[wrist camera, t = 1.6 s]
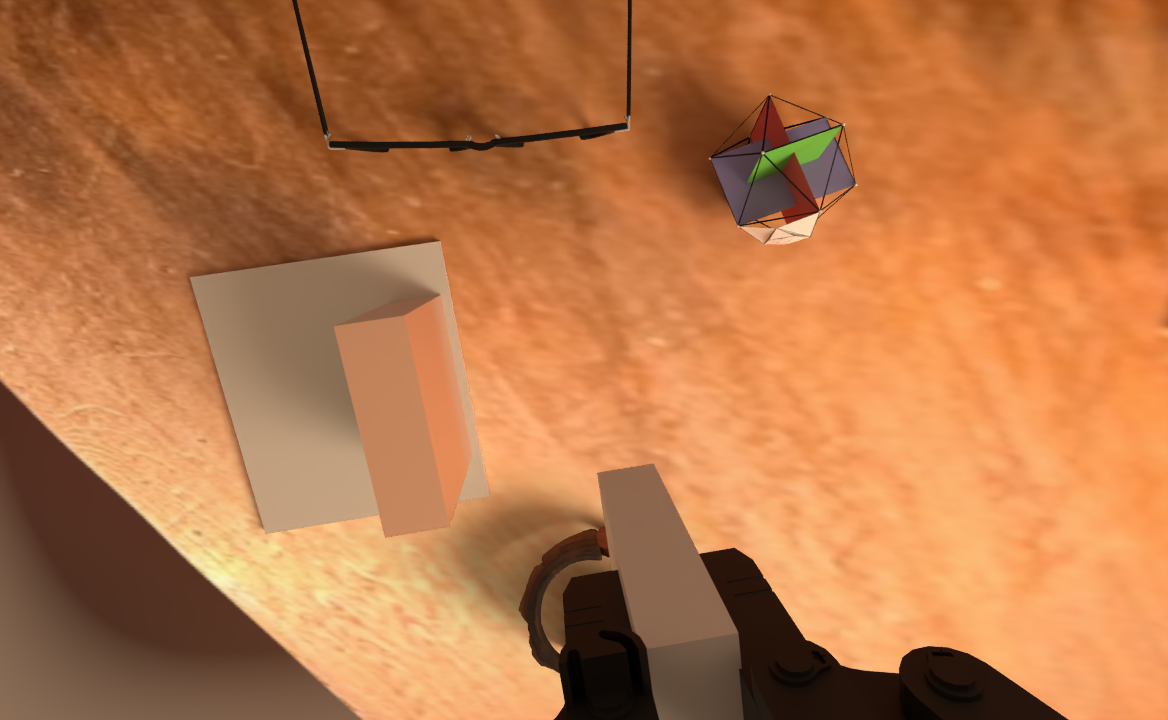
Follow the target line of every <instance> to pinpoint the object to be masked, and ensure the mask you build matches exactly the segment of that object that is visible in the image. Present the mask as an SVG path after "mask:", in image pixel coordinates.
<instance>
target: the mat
mask: <svg viewBox="0 0 1168 720" xmlns="http://www.w3.org/2000/svg"><path fill="white" fill-rule="evenodd" d="M190 280H191V284H192V287H193V290H194V294H195V297H196V301H197V304H198V307H199V311H200V314H201V318H202V321H203V324H204V328H205V331H206V334H207V338H208V341H209V345H210V348H211V351H212V355H213V358H214V361H215V365H216V368H217V372H218V375H219V378H220V382H221V385H222V388H223V392H224V395H225V399H226V402H227V405H228V409H229V412H230V416H231V419H232V422H233V426H234V429H235V432H236V436H237V439H238V443H239V446H240V449H241V453H242V456H243V459H244V463H245V466H246V470H247V473H248V476H249V480H250V483H251V486H252V490H253V493H254V497H255V500H256V503H257V507H258V510H259V514H260V517H261V520H262V524H263V527H264V530H265V534H268V533H274V532H280V531H286V530H292V529H298V528H304V527H310V526H316V525H322V524H328V523H334V522H340V521H346V520H353V519H359V518H365V517H371V516H377V515H380V514H379V510H378V506H377V502H376V498H375V494H374V490H373V486H372V482H371V477H370V473H369V469H368V465H367V461H366V457H365V453H364V449H363V445H362V441H361V436H360V432H359V428H358V424H357V420H356V416H355V412H354V408H353V404H352V400H351V396H350V391H349V387H348V383H347V379H346V375H345V371H344V367H343V363H342V359H341V355H340V350H339V346H338V342H337V338H336V334H335V330H334V326H335V325H337V324H340V323H342V322H344V321H347V320H349V319H351V318H354V317H356V316H358V315H361V314H363V313H365V312H368V311H370V310H372V309H375V308H377V307H380V306H382V305H384V304H387V303H389V302H395V301H402V300H408V299H415V298H422V297H428V296H435V295H441V298H442V303H443V308H444V313H445V318H446V323H447V328H448V333H449V338H450V343H451V348H452V353H453V358H454V363H455V368H456V373H457V378H458V383H459V388H460V393H461V398H462V403H463V408H464V413H465V418H466V423H467V428H468V434H469V439H470V444H471V449H472V454H473V455H472V458H471V461H470V464H469V467H468V471H467V474H466V477H465V480H464V483H463V486H462V490H461V493H460V496H459V499H458V502H462V501H468V500H474V499H480V498H486V497H489V496H490V493H489V488H488V482H487V477H486V472H485V467H484V462H483V457H482V452H481V447H480V441H479V436H478V431H477V426H476V421H475V416H474V411H473V405H472V400H471V395H470V390H469V385H468V380H467V375H466V369H465V364H464V359H463V354H462V349H461V344H460V339H459V333H458V328H457V323H456V318H455V313H454V308H453V303H452V297H451V292H450V287H449V282H448V277H447V272H446V267H445V262H444V256H443V251H442V246H441V241H437V242H430V243H423V244H417V245H410V246H403V247H396V248H389V249H382V250H375V251H368V252H361V253H354V254H348V255H341V256H334V257H327V258H320V259H313V260H306V261H299V262H292V263H285V264H279V265H272V266H265V267H258V268H251V269H244V270H237V271H230V272H223V273H216V274H210V275H203V276H196V277H190Z"/></svg>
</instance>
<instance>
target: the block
mask: <svg viewBox="0 0 1168 720" xmlns="http://www.w3.org/2000/svg"><path fill="white" fill-rule="evenodd" d="M334 330H335V334H336V338H337V342H338V346H339V350H340V355H341V359H342V363H343V367H344V371H345V375H346V379H347V383H348V387H349V391H350V396H351V400H352V404H353V408H354V412H355V416H356V420H357V424H358V428H359V432H360V436H361V441H362V445H363V449H364V453H365V457H366V461H367V465H368V469H369V473H370V477H371V482H372V486H373V490H374V494H375V498H376V502H377V506H378V510H379V514H380V518H381V523H382V527H383V531H384V535H385V538H386V537H392V536H398V535H404V534H410V533H416V532H422V531H428V530H434V529H440V528H446V527H450V525H451V521H452V518H453V515H454V512H455V509H456V506H457V502H458V499H459V496H460V493H461V490H462V486H463V483H464V480H465V477H466V474H467V471H468V467H469V464H470V461H471V458H472V455H473V454H472V449H471V444H470V439H469V434H468V428H467V423H466V418H465V413H464V408H463V403H462V398H461V393H460V388H459V383H458V378H457V373H456V368H455V363H454V358H453V353H452V348H451V343H450V338H449V333H448V328H447V323H446V318H445V313H444V308H443V303H442V298H441V295H435V296H428V297H422V298H415V299H408V300H402V301H395V302H389V303H387V304H384V305H382V306H380V307H377V308H375V309H372V310H370V311H368V312H365V313H363V314H361V315H358V316H356V317H354V318H351V319H349V320H347V321H344V322H342V323H340V324H337V325H335V326H334Z"/></svg>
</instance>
